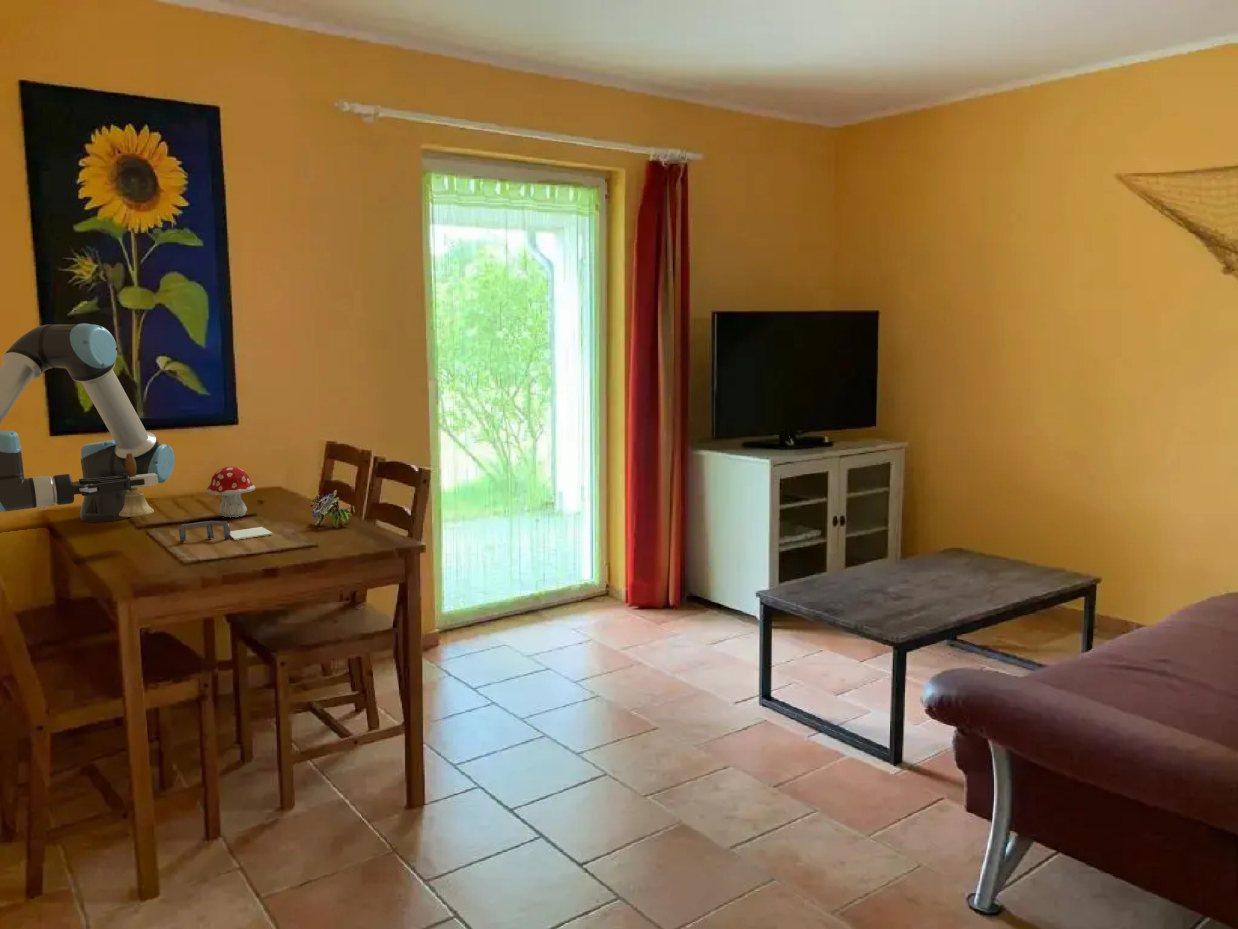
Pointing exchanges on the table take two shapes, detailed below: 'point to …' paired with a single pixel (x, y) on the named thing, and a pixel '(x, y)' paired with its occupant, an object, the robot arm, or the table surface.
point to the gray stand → (209, 529)
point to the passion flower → (330, 509)
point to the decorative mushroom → (231, 490)
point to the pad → (249, 533)
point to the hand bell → (134, 494)
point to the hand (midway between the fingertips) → (156, 478)
